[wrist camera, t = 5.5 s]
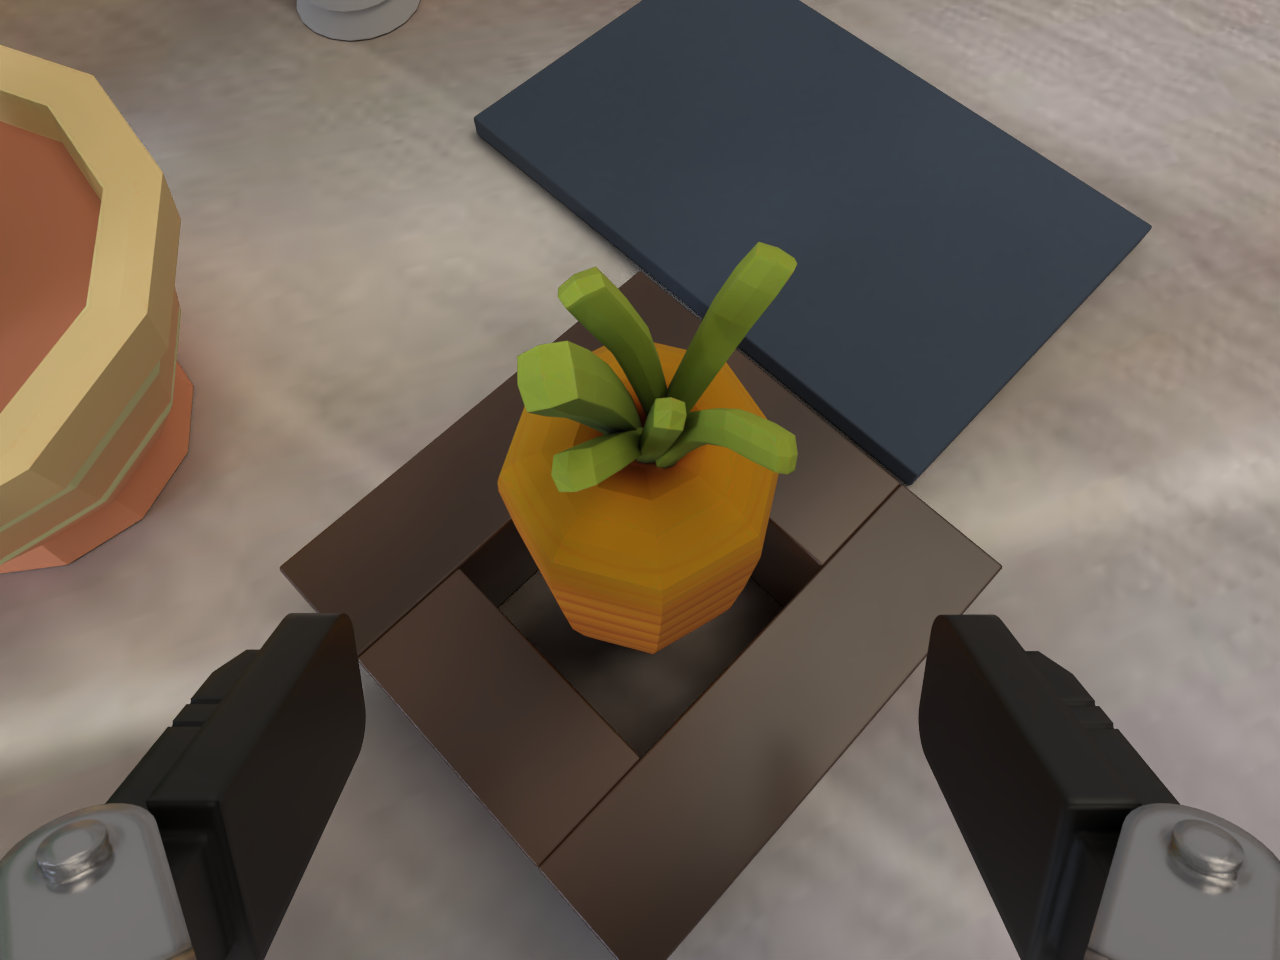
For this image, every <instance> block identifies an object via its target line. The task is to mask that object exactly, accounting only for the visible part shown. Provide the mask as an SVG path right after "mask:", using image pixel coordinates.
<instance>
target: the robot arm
mask: <svg viewBox="0 0 1280 960" xmlns="http://www.w3.org/2000/svg"><path fill="white" fill-rule="evenodd" d="M365 718H366V714H365V703H364V696H363V689H362V683H361V676H360V669H359V662H358V656H357V649H356V642H355V636H354V629H353V625H352V622H351V619H350V617H349V616H348V615H347V614H345V613H291V614H288V615H287V616H286V617H285V618H284V619H283V620H282V621H281V623H280V624H279V625H278V627H277V628H276V629H275V631H274V632H273V633H272V635H271V636H270V637H269V638H268V640H267V641H266V642H265V644H264V645H263V646H262V648H261V649H260V650H245V651H244V652H242V653H241V654H239V655H238V656H236V657H235V658H233V659H232V660H230V661H229V662H227V663H226V664H224V665H223V666H221V667H220V668H218V669H217V670H215V671H214V672H212V674H211V675H210V676H209V677H208V679H207V680H206V681H205V682H204V683H203V685H202V686H201V687H200V688H199V690H198V691H197V692H196V693H195V694H194V696H193V697H192V698H191V703H190V704H186V706H185V707H184V708H183V709H182V710H181V712H180V713H179V714H178V715H177V717H176V718H175V719H174V720H173V725H172V727H168V728H167V729H166V730H165V731H164V732H163V734H162V735H161V736H160V737H159V739H158V740H157V741H156V742H155V743H154V745H153V746H152V747H151V748H150V750H149V751H148V752H147V753H146V754H145V756H144V757H143V758H142V759H141V761H140V762H139V763H138V764H137V765H136V767H135V768H134V769H133V770H132V772H131V773H130V774H129V775H128V776H127V778H126V779H125V780H124V781H123V783H122V784H121V785H120V786H119V787H118V789H117V790H116V791H115V792H114V794H113V795H112V796H111V797H110V798H109V800H108V801H107V802H106V803H105V804H102V805H96V806H92V807H87V808H83V809H80V810H77V811H74V812H71V813H69V814H66V815H64V816H62V817H59V818H57V819H55V820H53V821H51V822H49V823H47V824H45V825H43V826H41V827H40V828H38V829H37V830H35V831H34V832H32V833H30V834H29V835H28V836H26V837H25V838H24V839H22V840H21V841H20V842H18V843H17V844H16V845H15V846H14V847H13V848H12V849H11V850H10V851H9V852H8V853H7V854H6V855H5V856H4V857H3V858H2V860H1V861H0V960H264V958H265V956H266V954H267V952H268V949H269V947H270V945H271V943H272V941H273V939H274V936H275V934H276V932H277V930H278V928H279V926H280V924H281V921H282V919H283V917H284V915H285V913H286V911H287V908H288V906H289V904H290V902H291V900H292V898H293V896H294V893H295V891H296V889H297V887H298V885H299V883H300V880H301V878H302V876H303V874H304V872H305V870H306V868H307V865H308V863H309V861H310V859H311V857H312V855H313V852H314V850H315V848H316V846H317V844H318V842H319V840H320V837H321V835H322V833H323V831H324V829H325V827H326V824H327V822H328V820H329V818H330V816H331V814H332V812H333V809H334V807H335V805H336V803H337V801H338V799H339V796H340V794H341V792H342V790H343V788H344V786H345V784H346V781H347V779H348V777H349V775H350V773H351V771H352V768H353V766H354V764H355V762H356V760H357V758H358V755H359V753H360V750H361V747H362V743H363V738H364V732H365ZM919 732H920V739H921V744H922V748H923V751H924V754H925V756H926V759H927V761H928V763H929V765H930V767H931V769H932V772H933V774H934V776H935V778H936V780H937V782H938V784H939V787H940V789H941V791H942V793H943V795H944V797H945V799H946V801H947V804H948V806H949V808H950V810H951V812H952V814H953V816H954V818H955V821H956V823H957V825H958V827H959V829H960V831H961V833H962V835H963V838H964V840H965V842H966V844H967V846H968V848H969V850H970V852H971V855H972V857H973V859H974V861H975V863H976V865H977V867H978V869H979V872H980V874H981V876H982V878H983V880H984V882H985V884H986V886H987V889H988V891H989V893H990V895H991V897H992V899H993V901H994V903H995V906H996V908H997V910H998V912H999V914H1000V916H1001V918H1002V921H1003V923H1004V925H1005V927H1006V929H1007V931H1008V933H1009V935H1010V938H1011V940H1012V942H1013V944H1014V946H1015V948H1016V950H1017V952H1018V955H1019V957H1020V959H1021V960H1280V861H1279V860H1278V858H1277V857H1276V856H1275V855H1274V854H1273V853H1272V852H1271V851H1270V850H1269V849H1268V848H1267V847H1266V846H1265V845H1264V844H1263V843H1262V842H1260V841H1259V840H1258V839H1256V838H1255V837H1254V836H1252V835H1251V834H1250V833H1248V832H1246V831H1245V830H1243V829H1242V828H1240V827H1239V826H1237V825H1235V824H1233V823H1231V822H1229V821H1227V820H1225V819H1223V818H1221V817H1218V816H1216V815H1214V814H1211V813H1209V812H1206V811H1203V810H1200V809H1197V808H1193V807H1188V806H1184V805H1180V804H1179V802H1178V801H1177V800H1176V799H1175V797H1174V796H1173V795H1172V794H1171V793H1170V791H1169V790H1168V789H1167V788H1166V787H1165V785H1164V784H1163V783H1162V782H1161V781H1160V779H1159V778H1158V777H1157V776H1156V774H1155V773H1154V772H1153V771H1152V770H1151V768H1150V767H1149V766H1148V765H1147V764H1146V762H1145V761H1144V760H1143V759H1142V757H1141V756H1140V755H1139V754H1138V753H1137V751H1136V750H1135V749H1134V748H1133V747H1132V745H1131V744H1130V743H1129V742H1128V741H1127V739H1126V738H1125V737H1124V736H1123V734H1122V733H1121V732H1120V731H1119V730H1118V729H1114V727H1113V722H1112V721H1111V720H1110V719H1109V717H1108V716H1107V715H1106V714H1105V713H1104V711H1103V710H1102V709H1101V708H1100V707H1099V706H1095V701H1094V699H1093V698H1092V697H1091V696H1090V694H1089V693H1088V692H1087V691H1086V690H1085V688H1084V687H1083V686H1082V685H1081V684H1080V682H1079V681H1078V680H1077V679H1076V677H1075V676H1074V675H1073V674H1072V673H1070V672H1069V671H1067V670H1066V669H1064V668H1063V667H1061V666H1060V665H1058V664H1057V663H1055V662H1054V661H1052V660H1051V659H1049V658H1048V657H1046V656H1045V655H1043V654H1042V653H1040V652H1039V651H1025V650H1024V649H1023V648H1022V646H1021V645H1020V644H1019V643H1018V641H1017V640H1016V639H1015V637H1014V636H1013V635H1012V633H1011V632H1010V631H1009V630H1008V628H1007V627H1006V626H1005V624H1004V623H1003V622H1002V620H1001V619H1000V618H999V617H997V616H996V615H938V616H937V617H936V618H935V620H934V622H933V624H932V628H931V633H930V639H929V646H928V653H927V659H926V666H925V672H924V679H923V686H922V692H921V699H920V705H919Z"/></svg>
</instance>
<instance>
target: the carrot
mask: <svg viewBox="0 0 1280 960" xmlns="http://www.w3.org/2000/svg"><path fill="white" fill-rule="evenodd" d="M796 266H797V262H796V260H795V258H794V257H792V256H790V255H789V254H787V253H786V252H784V251H783V250H781V249H780V248H778V247H775V246H772V245H768V244H765V243H761V242H758V243H757V244H756V245H755V246H754V247H753V248H752V250H751V251H750V252H749V253H748V254H747V255H746V256H745V257H744V258H743V259H742V260H741V262H740V263H739V264H738V265H737V266H736V268H735V269H734V270H733V272H732V273H731V275H730V276H729V278H728V279H727V281H726V282H725V283H724V285H723V286H722V288H721V289H720V291H719V292H718V294H717V295H716V297H715V298H714V300H713V301H712V303H711V305H710V307H709V309H708V311H707V313H706V315H705V317H704V319H703V320H702V322H701V324H700V326H699V328H698V330H697V332H696V334H695V336H694V338H693V339H692V341H691V343H690V345H689V347H688V349H687V350H685V349H680V348H676V347H672V346H667V345H663V344H658V343H654V342H653V339H652V336H651V334H650V331H649V328H648V326H647V325H646V324H645V322H644V321H643V320H642V318H641V317H640V316H639V314H638V313H637V312H636V310H635V309H634V308H633V306H632V305H631V304H630V302H629V301H628V300H627V298H626V297H625V296H624V295H623V294H622V293H621V292H620V290H619V289H618V288H617V287H616V286H615V285H614V284H613V283H612V282H611V281H610V280H609V279H608V278H607V277H606V276H605V275H604V274H603V273H602V272H601V271H600V270H599V269H598V268H597V267H593V268H591V269H588V270H585V271H582V272H579V273H577V274H574V275H573V276H572V277H571V278H569V279H568V280H567V281H566V282H565V283H564V284H562V285H561V286H560V287H559V288H558V298H559V299H560V301H561V302H562V304H563V305H564V306H565V308H566V309H567V310H568V311H569V312H570V313H571V314H572V315H573V316H574V317H575V318H576V319H577V320H578V321H579V322H580V323H581V324H582V325H583V326H584V327H585V328H586V329H587V330H588V331H589V332H590V333H591V334H592V335H593V336H594V337H595V338H596V339H598V340H599V341H600V342H601V343H602V344H603V345H604V346H603V347H600V348H598V349H596V350H594V351H592V352H591V351H590V350H588V349H586V348H583V347H581V346H579V345H576V344H574V343H572V342H569V341H562V342H556V343H549V344H542V345H538V346H536V347H534V348H533V349H531V350H529V351H527V352H525V353H523V354H521V355H519V356H517V381H518V387H519V390H520V393H521V396H522V399H523V402H524V405H525V407H524V409H523V412H522V415H521V418H520V420H519V423H518V426H517V429H516V431H515V434H514V437H513V440H512V442H511V445H510V448H509V450H508V453H507V456H506V459H505V461H504V464H503V467H502V470H501V473H500V476H499V479H498V482H497V483H498V490H499V493H500V495H501V497H502V499H503V501H504V503H505V505H506V508H507V510H508V512H509V514H510V516H511V518H512V520H513V522H514V524H515V526H516V528H517V530H518V532H519V534H520V536H521V537H522V539H523V541H524V543H525V545H526V547H527V548H528V550H529V552H530V554H531V556H532V557H533V559H534V561H535V563H536V565H537V566H538V568H539V570H540V572H541V574H542V576H543V577H544V579H545V581H546V583H547V585H548V586H549V588H550V590H551V592H552V594H553V595H554V597H555V599H556V601H557V603H558V604H559V606H560V608H561V610H562V612H563V613H564V615H565V617H566V618H567V620H568V622H569V624H570V625H571V627H572V629H574V630H575V631H577V632H579V633H581V634H583V635H584V636H588V637H591V638H594V639H598V640H601V641H605V642H609V643H612V644H616V645H620V646H624V647H627V648H631V649H635V650H639V651H642V652H646V653H650V654H654V653H656V652H658V651H659V650H661V649H663V648H665V647H666V646H668V645H670V644H671V643H673V642H675V641H677V640H678V639H680V638H682V637H683V636H685V635H687V634H689V633H690V632H692V631H694V630H696V629H697V628H699V627H701V626H702V625H704V624H706V623H708V622H709V621H711V620H713V619H714V618H716V617H717V616H719V615H721V614H722V613H724V612H725V611H727V610H728V609H730V608H731V606H732V605H733V603H734V602H735V600H736V599H737V597H738V596H739V594H740V593H741V591H742V590H743V588H744V587H745V585H746V583H747V581H748V580H749V578H750V576H751V574H752V572H753V570H754V568H755V566H756V565H757V563H758V561H759V559H760V557H761V553H762V548H763V543H764V539H765V534H766V530H767V525H768V521H769V516H770V512H771V507H772V502H773V498H774V493H775V489H776V484H777V480H778V475H779V473H781V474H789V473H791V472H793V471H795V467H796V461H797V455H798V452H797V445H796V438H795V435H794V434H792V433H791V432H789V431H787V430H786V429H784V428H783V427H781V426H779V425H778V424H776V423H774V422H771V421H769V420H767V418H766V417H765V415H764V414H763V413H762V411H761V410H760V409H759V407H758V406H757V404H756V403H755V402H754V400H753V399H752V397H751V396H750V395H749V393H748V392H747V390H746V389H745V388H744V386H743V385H742V383H741V382H740V381H739V379H738V378H737V376H736V375H735V374H734V372H733V371H732V370H731V368H730V367H729V365H728V364H727V363H726V361H727V360H728V359H729V357H730V356H731V355H732V353H733V352H734V350H735V349H736V348H737V346H738V345H739V344H740V342H741V341H742V340H743V338H744V337H745V335H746V334H747V333H748V331H749V330H750V329H751V327H752V326H753V325H754V324H755V322H756V321H757V320H758V319H759V317H760V316H761V315H762V314H763V312H764V311H765V310H766V309H767V307H768V306H769V305H770V304H771V302H772V301H773V300H774V299H775V297H776V296H777V295H778V293H779V292H780V290H781V289H782V288H783V286H784V285H785V283H786V282H787V281H788V279H789V278H790V276H791V275H792V273H793V272H794V270H795V268H796Z"/></svg>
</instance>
